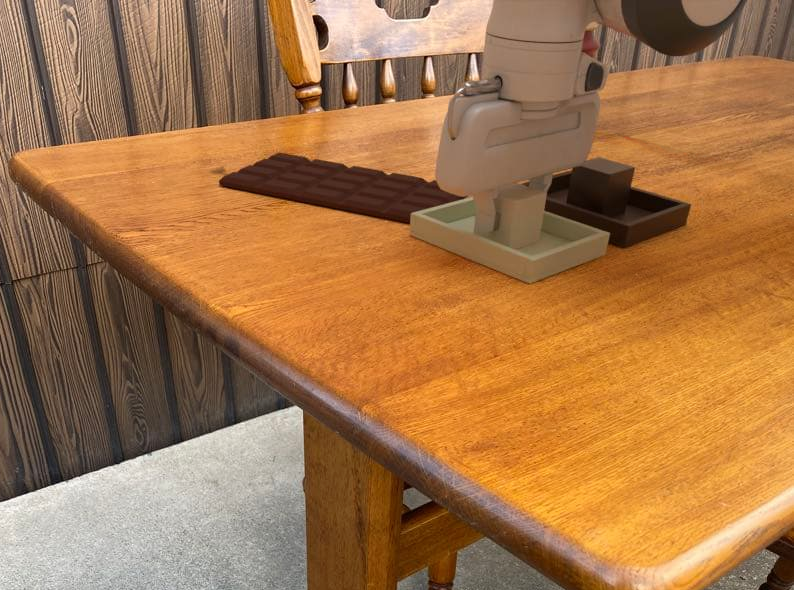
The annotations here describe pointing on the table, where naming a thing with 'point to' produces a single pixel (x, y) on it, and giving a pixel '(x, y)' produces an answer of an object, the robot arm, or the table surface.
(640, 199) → the dark tray
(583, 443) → the table surface
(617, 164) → the dark block
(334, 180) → the chocolate bar
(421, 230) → the light tray
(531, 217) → the ivory block
